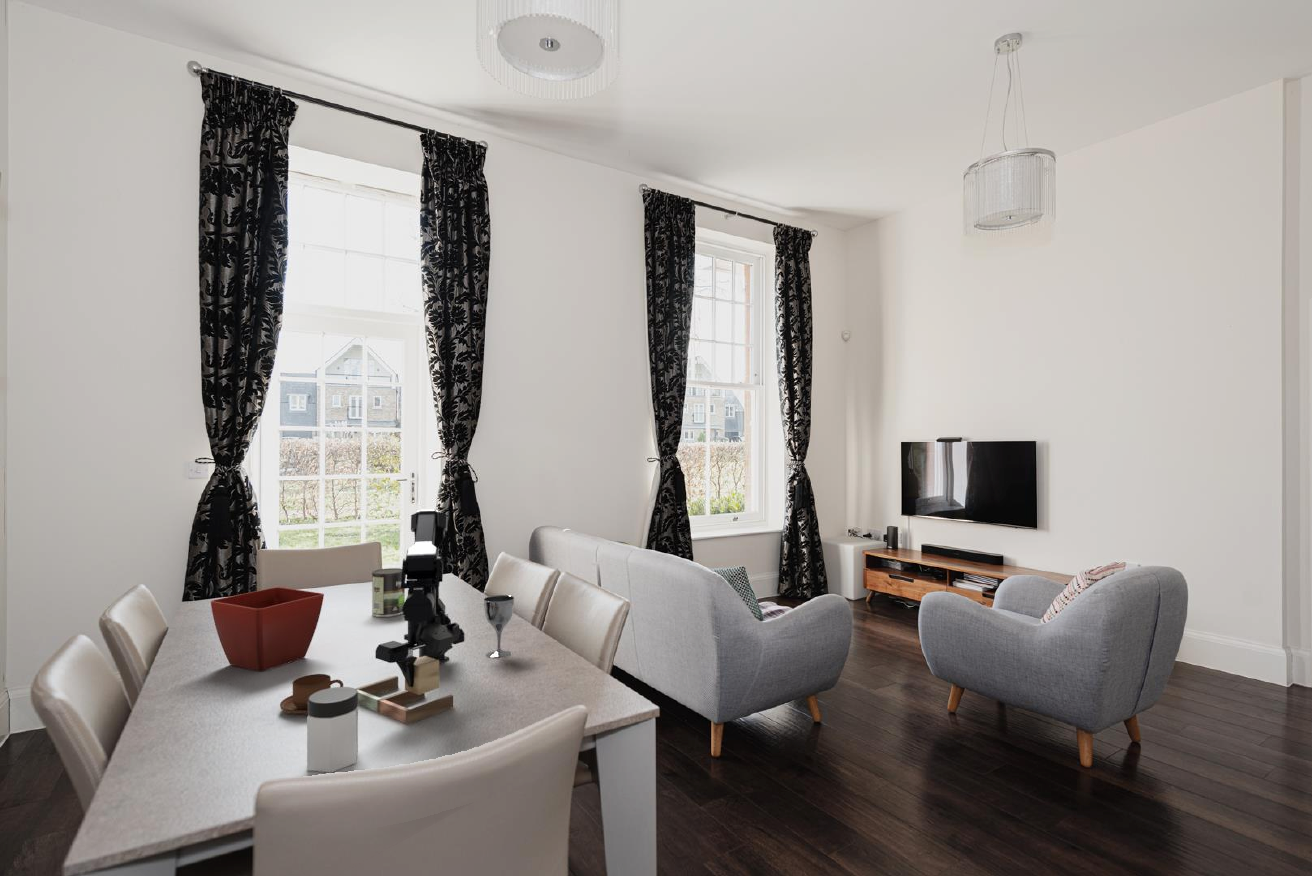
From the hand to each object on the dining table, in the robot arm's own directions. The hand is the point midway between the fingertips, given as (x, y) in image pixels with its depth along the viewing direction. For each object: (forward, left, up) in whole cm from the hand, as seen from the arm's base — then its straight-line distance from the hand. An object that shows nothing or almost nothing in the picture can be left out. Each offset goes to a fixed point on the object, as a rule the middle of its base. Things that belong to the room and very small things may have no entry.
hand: (421, 683), depth 147 cm
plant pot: (-58, -5, -5) cm, 59 cm away
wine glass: (-14, +34, -5) cm, 38 cm away
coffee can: (-77, +42, -5) cm, 89 cm away
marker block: (0, 0, -1) cm, 1 cm away
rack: (-5, -2, -5) cm, 7 cm away
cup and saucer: (-19, -14, -6) cm, 24 cm away
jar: (+9, -25, -5) cm, 27 cm away
